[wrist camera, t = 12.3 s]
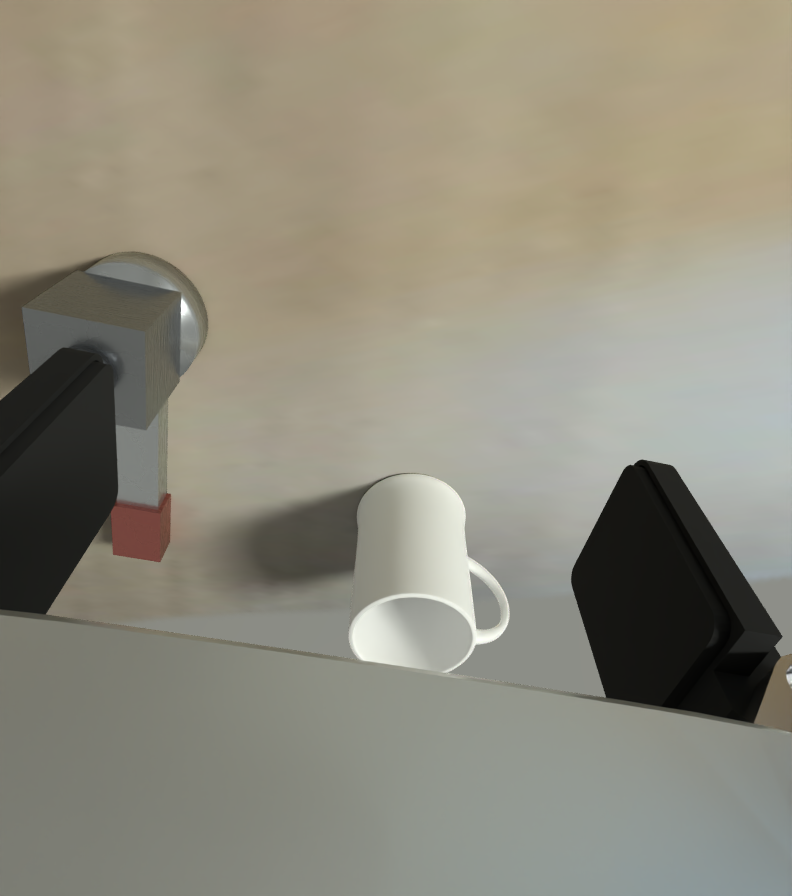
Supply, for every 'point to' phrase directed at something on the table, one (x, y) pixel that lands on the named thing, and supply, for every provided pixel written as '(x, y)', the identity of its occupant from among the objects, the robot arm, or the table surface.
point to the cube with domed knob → (113, 337)
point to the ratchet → (145, 451)
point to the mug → (416, 578)
